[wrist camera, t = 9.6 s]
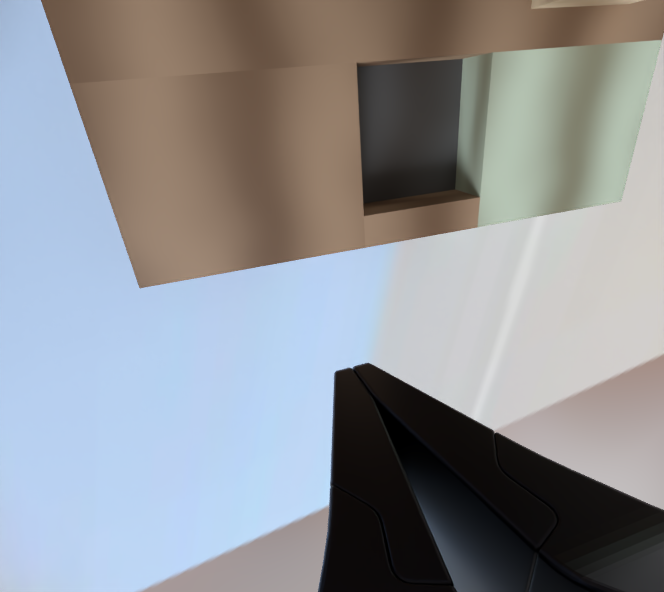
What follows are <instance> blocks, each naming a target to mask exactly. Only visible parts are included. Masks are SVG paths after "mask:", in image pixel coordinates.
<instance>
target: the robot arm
mask: <svg viewBox="0 0 664 592" xmlns="http://www.w3.org/2000/svg"><path fill="white" fill-rule="evenodd" d="M330 486H331V488H330V504H329V519H328V532H327V539H326V546H325V553H324V560H323V566H322V572H321V577H320V583H319V589H318V592H664V510H663V509H660V508H658V507H655V506H652V505H650V504H648V503H646V502H643V501H641V500H639V499H637V498H634V497H632V496H630V495H628V494H625V493H623V492H621V491H619V490H616V489H614V488H612V487H610V486H607V485H605V484H603V483H601V482H598V481H596V480H594V479H592V478H589V477H587V476H585V475H582V474H580V473H578V472H576V471H574V470H571V469H569V468H567V467H565V466H563V465H561V464H559V463H556V462H554V461H552V460H550V459H548V458H546V457H543V456H541V455H539V454H538V453H536V452H534V451H531V450H530V449H528V448H526V447H524V446H522V445H520V444H518V443H516V442H514V441H512V440H511V439H509V438H507V437H505V436H503V435H501V434H499V433H495V434H494V431H493V430H492V429H490V428H488V427H486V426H484V425H483V424H481V423H479V422H477V421H475V420H473V419H472V418H470V417H468V416H466V415H464V414H462V413H461V412H459V411H457V410H455V409H453V408H451V407H450V406H448V405H446V404H444V403H442V402H440V401H438V400H437V399H435V398H433V397H431V396H429V395H427V394H426V393H424V392H422V391H420V390H418V389H416V388H415V387H413V386H411V385H409V384H407V383H405V382H403V381H402V380H400V379H398V378H396V377H394V376H392V375H391V374H389V373H387V372H385V371H383V370H381V369H380V368H378V367H376V366H374V365H372V364H370V363H365V364H361V365H357V366H354V367H353V368H346V369H342V370H338V371H336V372H335V374H334V399H333V427H332V454H331V482H330Z"/></svg>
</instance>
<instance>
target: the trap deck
mask: <svg viewBox="0 0 664 592" xmlns="http://www.w3.org/2000/svg"><path fill="white" fill-rule="evenodd" d="M41 2H42V5H43V7H44V10H45V13H46V16H47V19H48V22H49V25H50V28H51V31H52V34H53V37H54V40H55V42H56V45H57V48H58V51H59V54H60V57H61V60H62V63H63V66H64V69H65V72H66V75H67V77H68V80H69V83H70V86H71V89H72V92H73V95H74V98H75V101H76V104H77V107H78V110H79V112H80V115H81V118H82V121H83V124H84V127H85V130H86V133H87V136H88V139H89V142H90V145H91V148H92V150H93V153H94V156H95V159H96V162H97V165H98V168H99V171H100V174H101V177H102V180H103V183H104V185H105V188H106V191H107V194H108V197H109V200H110V203H111V206H112V209H113V212H114V215H115V218H116V220H117V223H118V226H119V229H120V232H121V235H122V238H123V241H124V244H125V247H126V250H127V253H128V255H129V258H130V261H131V264H132V267H133V270H134V273H135V276H136V279H137V282H138V285H139V288H144V287H149V286H155V285H160V284H166V283H171V282H177V281H183V280H188V279H194V278H199V277H205V276H210V275H216V274H221V273H227V272H232V271H238V270H243V269H249V268H255V267H260V266H266V265H271V264H277V263H282V262H288V261H293V260H299V259H304V258H310V257H316V256H321V255H327V254H332V253H338V252H343V251H349V250H354V249H360V248H365V247H371V246H376V245H382V244H388V243H393V242H399V241H404V240H410V239H415V238H421V237H426V236H432V235H437V234H443V233H448V232H454V231H460V230H465V229H471V228H476V227H482V226H487V225H493V224H498V223H504V222H509V221H515V220H521V219H526V218H532V217H537V216H543V215H548V214H554V213H559V212H565V211H570V210H576V209H581V208H587V207H593V206H598V205H604V204H609V203H615V202H620V201H621V200H622V196H623V192H624V188H625V184H626V180H627V176H628V172H629V168H630V164H631V160H632V156H633V152H634V148H635V144H636V140H637V136H638V132H639V128H640V124H641V121H642V117H643V113H644V109H645V105H646V101H647V97H648V93H649V89H650V85H651V81H652V77H653V73H654V69H655V65H656V61H657V57H658V53H659V49H660V45H661V41H662V37H663V33H664V0H643V1H639V2H635V3H631V4H621V5H600V6H580V7H559V8H538V9H531V4H532V0H41Z"/></svg>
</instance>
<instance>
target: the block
mask: <svg viewBox="0 0 664 592" xmlns="http://www.w3.org/2000/svg"><path fill="white" fill-rule="evenodd" d="M639 1H643V0H532V4H531V9H538V8H559V7H580V6H600V5H621V4H631V3H635V2H639Z"/></svg>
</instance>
